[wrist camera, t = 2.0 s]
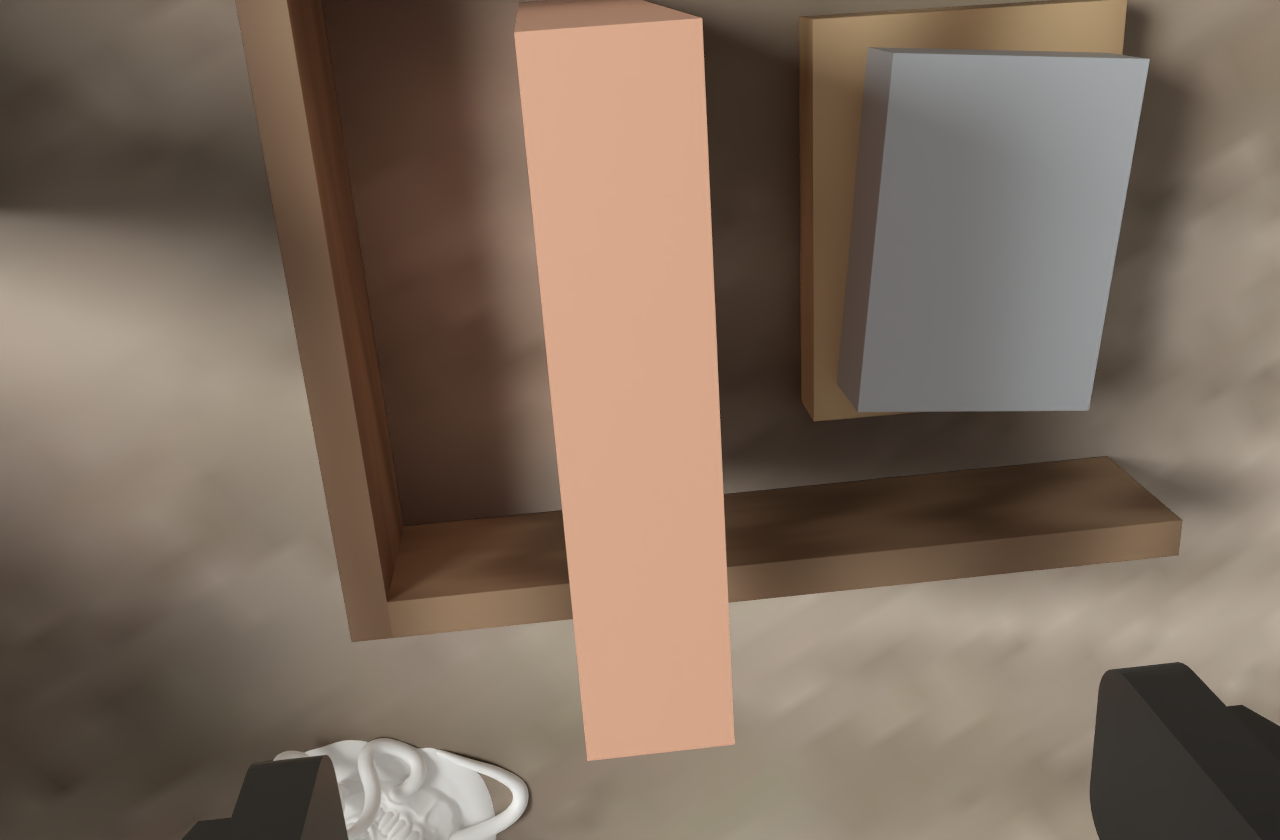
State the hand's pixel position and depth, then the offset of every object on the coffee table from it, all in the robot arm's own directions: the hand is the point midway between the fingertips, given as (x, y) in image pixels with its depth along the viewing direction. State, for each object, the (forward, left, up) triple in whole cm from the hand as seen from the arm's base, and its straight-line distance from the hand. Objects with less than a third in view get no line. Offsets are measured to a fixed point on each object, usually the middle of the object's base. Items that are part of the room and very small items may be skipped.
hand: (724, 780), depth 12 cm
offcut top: (-11, 0, -24) cm, 26 cm away
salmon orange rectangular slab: (0, 0, -26) cm, 26 cm away
